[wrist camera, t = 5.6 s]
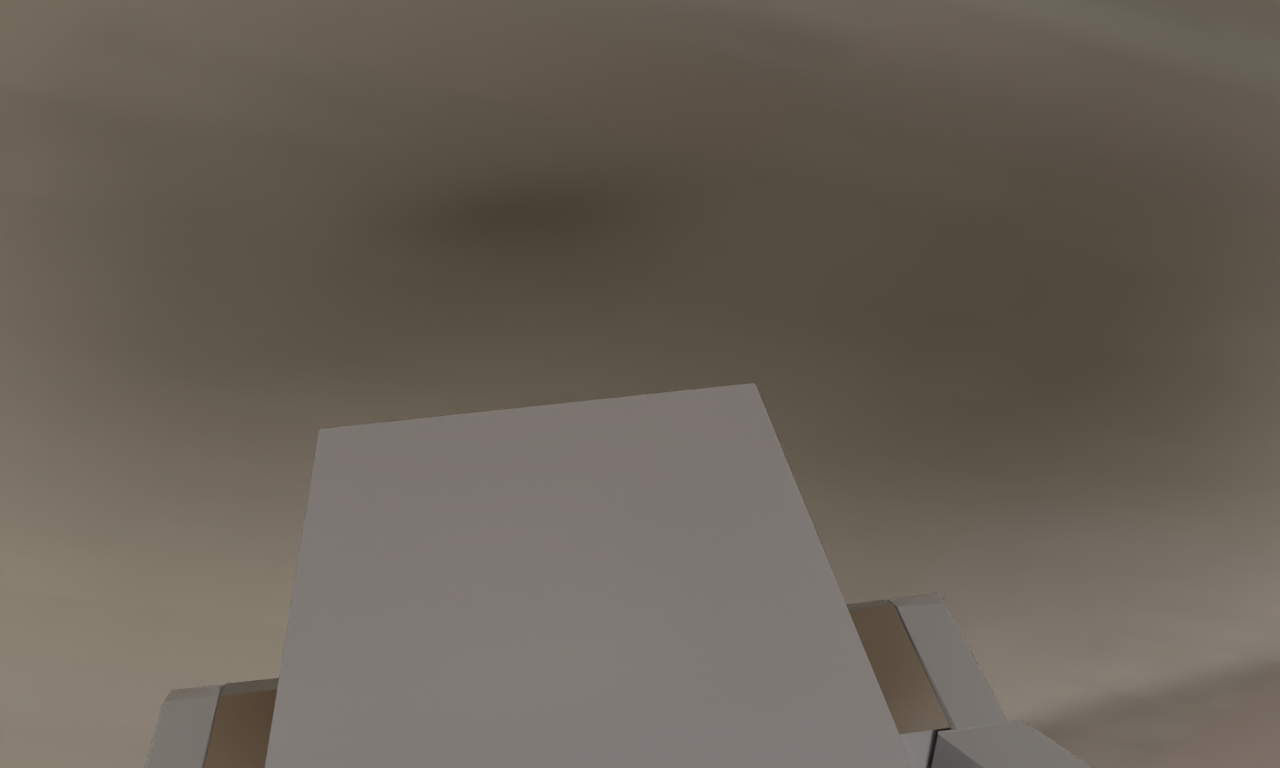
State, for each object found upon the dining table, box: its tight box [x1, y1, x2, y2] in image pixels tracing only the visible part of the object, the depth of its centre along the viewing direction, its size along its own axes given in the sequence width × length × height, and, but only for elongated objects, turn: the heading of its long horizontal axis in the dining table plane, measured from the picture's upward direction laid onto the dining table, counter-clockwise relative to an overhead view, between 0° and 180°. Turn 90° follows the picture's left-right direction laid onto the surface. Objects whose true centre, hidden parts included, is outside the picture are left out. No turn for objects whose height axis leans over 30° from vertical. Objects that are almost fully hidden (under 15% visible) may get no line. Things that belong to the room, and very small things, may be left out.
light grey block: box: [265, 383, 913, 768], centre depth 10 cm, size 4×4×5 cm
